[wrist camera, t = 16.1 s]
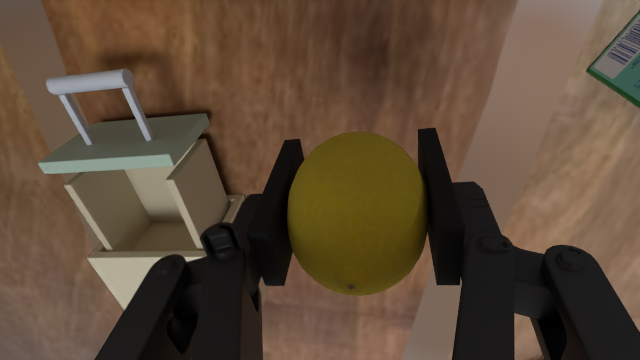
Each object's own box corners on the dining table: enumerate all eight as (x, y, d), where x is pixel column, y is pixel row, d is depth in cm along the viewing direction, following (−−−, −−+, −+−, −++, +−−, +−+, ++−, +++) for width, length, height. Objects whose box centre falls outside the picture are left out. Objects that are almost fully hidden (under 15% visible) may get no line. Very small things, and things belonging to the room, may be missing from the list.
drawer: (62, 63, 34) (-11, 94, 28) (183, 47, 32) (135, 78, 25) (147, 221, 45) (110, 270, 39) (242, 218, 43) (219, 269, 36)
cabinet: (138, 198, 44) (86, 258, 36) (243, 194, 42) (212, 256, 34) (181, 278, 52) (146, 341, 45) (271, 278, 50) (251, 345, 42)
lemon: (438, 121, 16) (479, 252, 10) (393, 210, 19) (402, 354, 13) (319, 87, 16) (281, 198, 9) (295, 183, 19) (253, 315, 13)
